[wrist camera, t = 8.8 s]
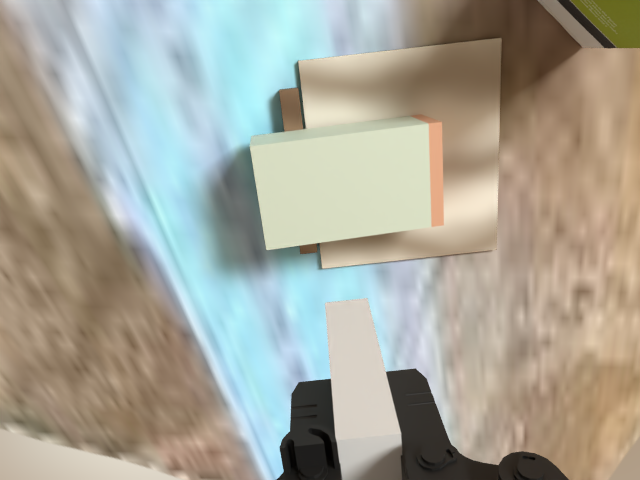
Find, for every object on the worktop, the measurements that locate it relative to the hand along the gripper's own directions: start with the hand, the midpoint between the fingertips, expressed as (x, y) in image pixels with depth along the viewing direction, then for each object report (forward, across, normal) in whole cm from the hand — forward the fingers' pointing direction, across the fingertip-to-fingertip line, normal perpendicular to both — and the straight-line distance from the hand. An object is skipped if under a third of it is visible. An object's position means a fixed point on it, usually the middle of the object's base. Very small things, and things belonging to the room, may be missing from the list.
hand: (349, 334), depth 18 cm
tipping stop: (+26, +6, 0) cm, 27 cm away
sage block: (+22, -5, 0) cm, 23 cm away
